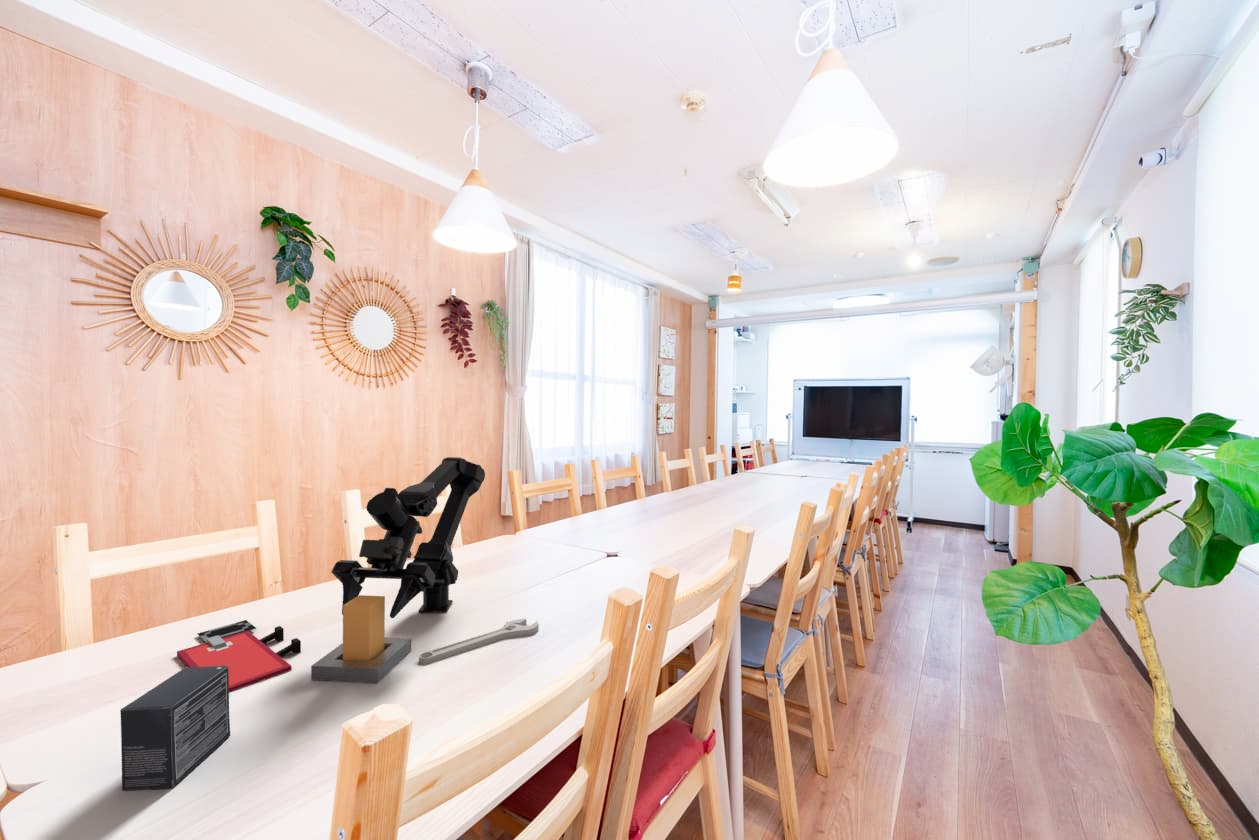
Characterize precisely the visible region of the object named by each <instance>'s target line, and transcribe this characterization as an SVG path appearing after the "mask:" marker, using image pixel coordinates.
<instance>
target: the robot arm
mask: <svg viewBox="0 0 1259 840" xmlns="http://www.w3.org/2000/svg"><path fill="white" fill-rule="evenodd" d="M485 479H486V473H485V469H484V468H482V466H481V465H480V464H476V463H473V462H472V461H471V462H470V461H467V460H466V459H465V458H462V457H457V456H456V457H455V456H451V457H450V456H448V457H444V458H443V459H442V461H441V463H440V464H439V465H438V466H437V467H436V468H434V469H433V470H432V471H431V472H430V473H429V474H428V475H427V476H426V477H425V478H424V479H422V481H421V482H419V483H417V484H416V483H415V484H413V485H409V486H408V487H406V488H404V489H402V490H401V491H400V492H398V491H397V489H396V487H385V488H384V490H383V492H380V493H378V494H376V495H374V496H373V497H371V499H369V500H368V501H367V504H366V511H367V513H368V514H369V515H370V517H371V518H372V519H373V520H374V522H375V523H377V525H378V527H380V528H381V529H382V530H384V531H386V532H385V535H384V537H383V538H381V539H380V538H379V539H363V540H362V543H361V547H360V550H359V551H360V552H359V555H358V557H359V558H366V562H367V564H369V565H370V566H371V567H363V566H362V565H361V563H359V561H358V560H349V559H343V560H342V559H339V560H338V561H337V562H335V563H334V564H333V565H334V566H333V567H332V569H331V574H333V576H334V577H335V578H336V579H338V581H339V582H340V583H341V585H342V592H343V593H342V605H341V606H342V608H341V615H342V616H343V605H344V604H346V603H348V602H349V601H351V600H352V599H354V598H356V597H357V596H359V595H360V593H361V591H362V589H363V586H362V585H361V584H363V583H365V580H366V579H386V580H389V579H391V580H392V579H393V580H400V588H399V589H398V592H397V595H396V597H395V600H394V601H393V604H392V607H391V610H390V612H389V617H390V619H394V618H396V616H397V615H398V614H399V613H400V612H401V611H402V610H403V609H404V608H405V606H407V605H408V604H409V603H410V602H411V601H412V600H413V599H415V597H416V596H417V595H419V594H420V593H422V600H423V601H422V605H421V606H420V608H419V609H418V610H417V611H418V614H422V613H423V614H424V613H427V614H428V613H447V612H448V611H449V609H450V607H451V606H452V605H453V602H454V601H453V599H449V598H450V596H449V595H450V594H449V593H450V589H449V588H450V585H453V584H456V583H457V582H456V581H458V577H459V570H458V569H457V568H456V566H455V564H454V563H453V562H454V556H453V551H452V544H453V542H454V540H455V536H456V533H457V531H458V529H459V526H460V524H461V520H462V519H463V518H462V517H463V516H464V515H463V514H464V512H465V509H466V507H467V504H468V503H469V499H470V498H471V497H472V496H473V495H474V494H476V493H477V492H478V491H479V490H480V488H481V486H482V484H483V482H484V480H485ZM448 486H449V487H450V492H449V495H448V497H447V500H446V502H445V504H444V507H443V509H442V512H441V515H440V517H439V520H438V522H437V524H436V527H435V529H434V531H433V534H432V537H431V539H430V540H429V541H428V542H427V541H426V542H423V541H422V542H420V544H419V545H418V548H417V551H416V553H415V555H414V556H413V554H412V551H411V548H412V546H413V544H414V540H415V538H416V536H417V535H420V534H423V528H422V526H421V524H420V521H418V520H417V519H416V518H415V517H418V518H428V517H429V516H431V514H432V513H433V512H434V510H435V509H436V507H437V505H438V497H439V495H441V493H443V491H444V490H445V489H446V488H447V487H448ZM412 556H413V560H412V562H411V561H410V562H409V563H407V559H411V558H412ZM406 563H407V564H406ZM405 564H406V566H405ZM404 566H405V567H404Z"/></svg>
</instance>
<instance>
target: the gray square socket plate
mask: <svg viewBox="0 0 1259 840" xmlns="http://www.w3.org/2000/svg"><path fill="white" fill-rule="evenodd" d="M412 642H413V641H412V638H411V637H393V636H392V637H389V636H386V637H385V643H384V651H383V652H382V653H381V654H380V655H379V656H378V657H376V658H375V659H374V660H373V661H355V660H343V642H342V643H340V644H339V645H337V647H335V648H334V649H333V650H331V651H329V652H328V653H327V654H326V655H324V656H323V657H322V658H320V659H319V660H317V661H315V662H314V663H313V664H311V666H310V672H311V673H310V676H311V677H310V678H311V679H310V680H311V681H325V682H341V683H342V682H343V683H344V682H345V683H362V684H363V683H364V684H368V683H369V684H379V683H378V682H379V681H380V680H383V679H384V678H385V677H386V676H387V675H388V674H389V673H390V672H391V671H393V669H394V668H395V667H396V666H398V664H399V663H401V662H402V661H403V660H404V659H405V658H406V657H407V656H408V655H409V654H410V653H411V652H412ZM380 682H381V681H380Z"/></svg>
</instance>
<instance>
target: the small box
mask: <svg viewBox="0 0 1259 840" xmlns="http://www.w3.org/2000/svg"><path fill="white" fill-rule="evenodd" d="M119 712H120V738H121V741H120V743H121V746H120V747H121V791H124V792H125V791H149V790H166V789H168V790H169V789H174V788H175V787H176V786H178V785H179V784H180V783H181V782H182V781H183V780H184V779H185V778H186V777H187V776H188V775H190V773H191V772H193V771H194V770H195V769H196V768H197V767H198V766H200V764H202V762H204V760H206V759H207V758H208V757H209V756H210V755H211V754H213V752H214V751H216V750H217V749H218V748H219V747H220V746H221V745H222V744H224V742H225V741H227V739H228V738H230V736H231V726H230V725H231V724H230V692H229V674H228V666H210V667H190V668H187V667H184V668H183V669H181V670H179V671H178V672H175V673H174V674H173V675H171V676H170V677H169V678H166V679H165V680H164V681H162V682H161V683H159V684H158V685H156V686H154V687H153V688H152V689H150V690H148V691H147V692H145V693H144V694H141V696H140V697H137V698H136V699H135V700H133V701H132V702H130V703H128V704H126V705H125V706H124V707H122V708H121V709H120V710H119Z"/></svg>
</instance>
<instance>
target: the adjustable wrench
mask: <svg viewBox="0 0 1259 840" xmlns="http://www.w3.org/2000/svg"><path fill="white" fill-rule="evenodd" d="M538 631H539V621H535V622H533V623H532V624H530V625H529V624H527V618H518V619H515V620H510V621H506V622H505V624H503V626H502V627H501V628H498V629H495V630H492V631H490V632H486V633H483V634H479V635H477V636H473V637H470V638H466V639H463V640H461V641H457V642H454V643H451V644H448V645H444V646H441V647H437V648H434V649H431V650H427V651H423V652H421V653H420V654H419V655H418V663H419V664H430V663H433V662H436V661H439V660H442V659H445V658H448V657H451V656H454V655H457V654H460V653H463V652H466V651H469V650H473V649H476V648H479V647H482V646H484V645H488V644H490V643H494V642H496V641H499V640H502V639H507V638H515V637H523V636H530V635H534V634H535V633H537V632H538Z"/></svg>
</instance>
